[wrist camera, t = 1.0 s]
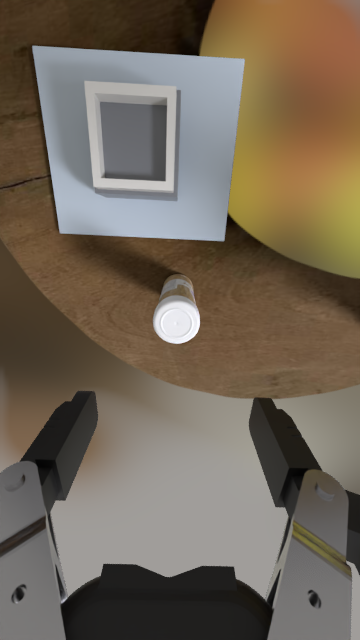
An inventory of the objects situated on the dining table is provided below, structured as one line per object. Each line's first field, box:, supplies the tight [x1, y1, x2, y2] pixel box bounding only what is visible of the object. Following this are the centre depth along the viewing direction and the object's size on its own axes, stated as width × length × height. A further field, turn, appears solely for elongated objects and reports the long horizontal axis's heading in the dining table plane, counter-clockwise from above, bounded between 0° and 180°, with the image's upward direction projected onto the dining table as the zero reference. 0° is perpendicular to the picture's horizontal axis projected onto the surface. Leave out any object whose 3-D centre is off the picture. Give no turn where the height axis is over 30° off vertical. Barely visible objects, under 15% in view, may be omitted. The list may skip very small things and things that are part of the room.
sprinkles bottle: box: [153, 274, 200, 344], centre depth 27 cm, size 5×5×13 cm
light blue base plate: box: [32, 46, 245, 241], centre depth 24 cm, size 22×18×6 cm
